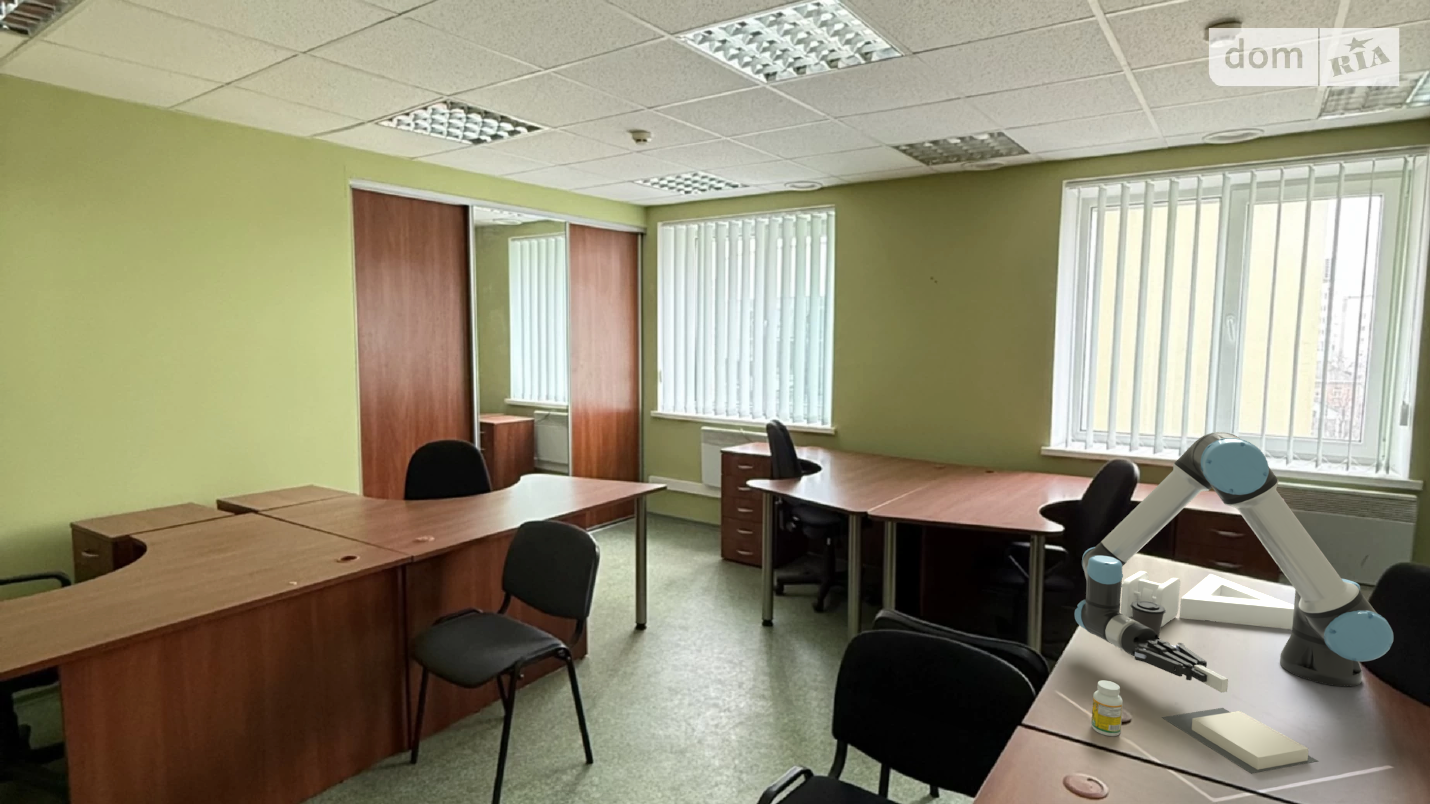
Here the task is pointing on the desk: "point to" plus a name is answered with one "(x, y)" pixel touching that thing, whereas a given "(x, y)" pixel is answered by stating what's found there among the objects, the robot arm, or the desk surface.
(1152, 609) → the coffee cup
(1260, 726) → the tile
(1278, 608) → the triangle block
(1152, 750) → the desk surface
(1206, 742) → the mat
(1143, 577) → the cable organizer
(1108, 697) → the supplement bottle
